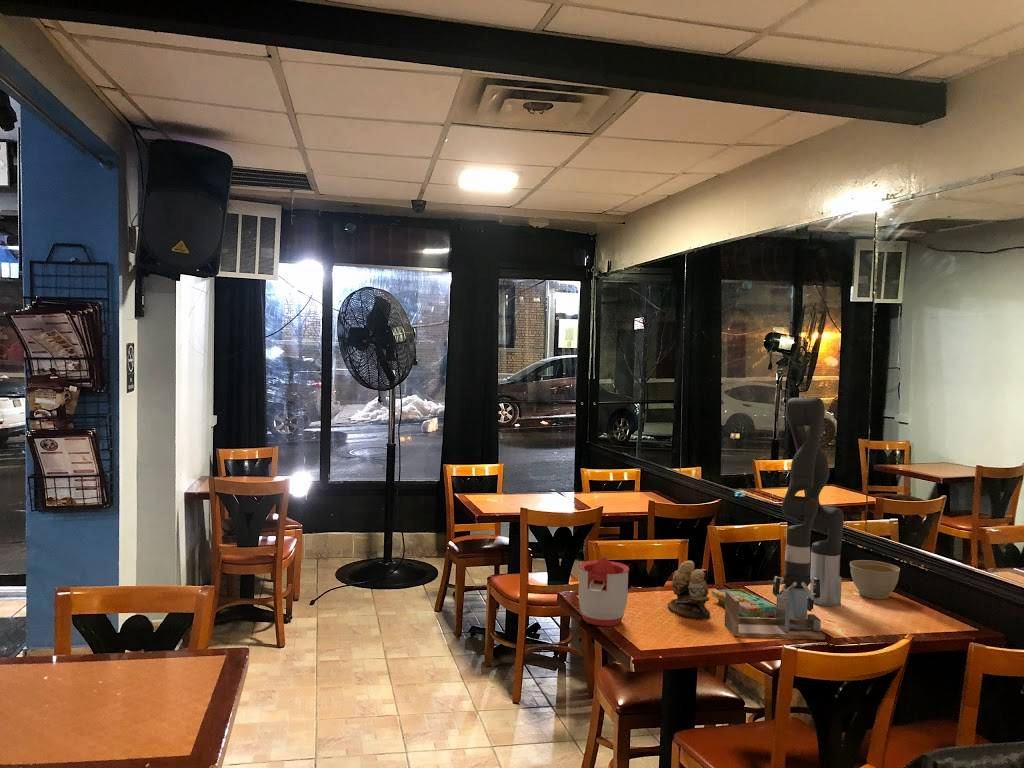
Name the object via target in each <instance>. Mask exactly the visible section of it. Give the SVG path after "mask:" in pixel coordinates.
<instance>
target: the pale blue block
mask: <svg viewBox="0 0 1024 768" xmlns="http://www.w3.org/2000/svg"><path fill="white" fill-rule="evenodd" d="M785 598H786V599H787V600H788V601H789V602H790V614H789V619H807V614H808V610H807V602H808V591H807V590H806V589H803V588H793V589H792V590H791V592H790V593H789V594H787V595H786V596H785Z"/></svg>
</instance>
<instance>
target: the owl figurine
mask: <svg viewBox="0 0 1024 768" xmlns="http://www.w3.org/2000/svg"><path fill="white" fill-rule="evenodd" d="M695 565H696V564H695V562H694V561H693V560H686V561H683V562H682V563H681V564H680V566H679V567H678V569H677V570H675V571H674V572H673V576H672V580H671V581H672V582H671V585H672V592H673V594H674V595H676V597H677V598H674V599H671V600H670V601H669V602H668V603H667V610H668V611H669V612H671V611H672V612H673V613H672V612H671V613H672V614H674V613H675V614H674V615H676V614H677V615H676V616H678V615H679V617H680V616H681V617H680V618H683V617H684V619H687V620H696V621H698V620H701V619H710V617H711V611H710V610H709V609H708V608H707V607H706V603H707V602H709V601H710V597H709V596H708V594H709V593H710V591H709V586H708V585H707V582H706V581H705V576H706V573H705V572H704V571H703V570H701V569H698V568H696V569H695Z"/></svg>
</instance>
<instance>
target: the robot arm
mask: <svg viewBox="0 0 1024 768" xmlns="http://www.w3.org/2000/svg"><path fill="white" fill-rule="evenodd" d="M785 409H786V410H785V411H786V417H787V422H788V425H789V428H790V431H791V435H792V438H793V441H794V446H795V447H794V448H795V451H796V453H795V454H794V456H793V458H792V460H791V464H790V474H789V475H790V476H789V484H788V488H787V490H786V493H785V495H784V498H783V499H782V503H781V512H782V513H783V514H782V515H784V516H785V517H786V518H791V519H799V520H804V522H803V523H802V524H792V525H789V526H787V529H786V544H785V545H786V546H785V552H784V575H783V577H782V576H781V577H780V576H777V575H775V576H773V582H772V583H773V584H772V595H773V596H774V597H776V598H777V594H781V595H782V596H783V597H785V596H786V595H787V594H789V593H790V592H791V590H792V589H793V588H803V589H806V590H807V591H808V602H807V612H812V611H813V609H814V604H815V605H819V606H823V607H836V606H841V605H842V604H841V603H842V587H843V586H842V582H843V581H842V580H843V578H842V576H840V568H841V550H842V543H843V533H844V532H843V531H844V513H843V510H842V509H841V508H839V507H835V506H829V505H822V504H821V503H820V494H821V492H822V490H823V489H824V487H825V486H826V484H827V483H828V480H829V478H830V475H831V473H830V467H829V466H830V465H829V462H828V457H827V455H826V453H825V451H823V449H822V448H821V447H820V446H819V445H820V441H821V438H822V437H821V436H822V430H823V425H824V421H825V416H826V415H825V413H826V411H825V404H824V402H823V400H822V399H821V398H820V397H791V398H789V399H788V400H787V402H786V408H785ZM805 426H806V427H809V431H808V432H807V430H806V427H805ZM801 491H803V493H804V496H799V495H797V493H798V492H801ZM812 531H814V532H818V533H823V534H827V538H826V539H824V540H819V541H815V542H812V543H811V534H812ZM783 583H784V585H783V586H782V588H781V585H782V584H783ZM808 586H809V587H808ZM780 588H781V590H780Z"/></svg>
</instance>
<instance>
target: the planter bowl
mask: <svg viewBox="0 0 1024 768" xmlns="http://www.w3.org/2000/svg"><path fill="white" fill-rule="evenodd" d="M849 567H850V574H851V579H852V581H853V584H854V586H855V587H856V589H857V590H858V593H859V595H861V596H862V597H864V596H865V598H867V599H871V598H872V599H874V600H886V599H889V596H890V594H891V593H892V592H893V591H894V589H895V588H896V586H897V584H898V581H899V579H900V577H899V576H900V573H901V568H900V567H899V566H897V565H894V564H891V563H887V562H883V561H877V560H869V559H868V560H866V559H865V560H864V559H861V560H860V559H859V560H852V561H850V562H849Z"/></svg>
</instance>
